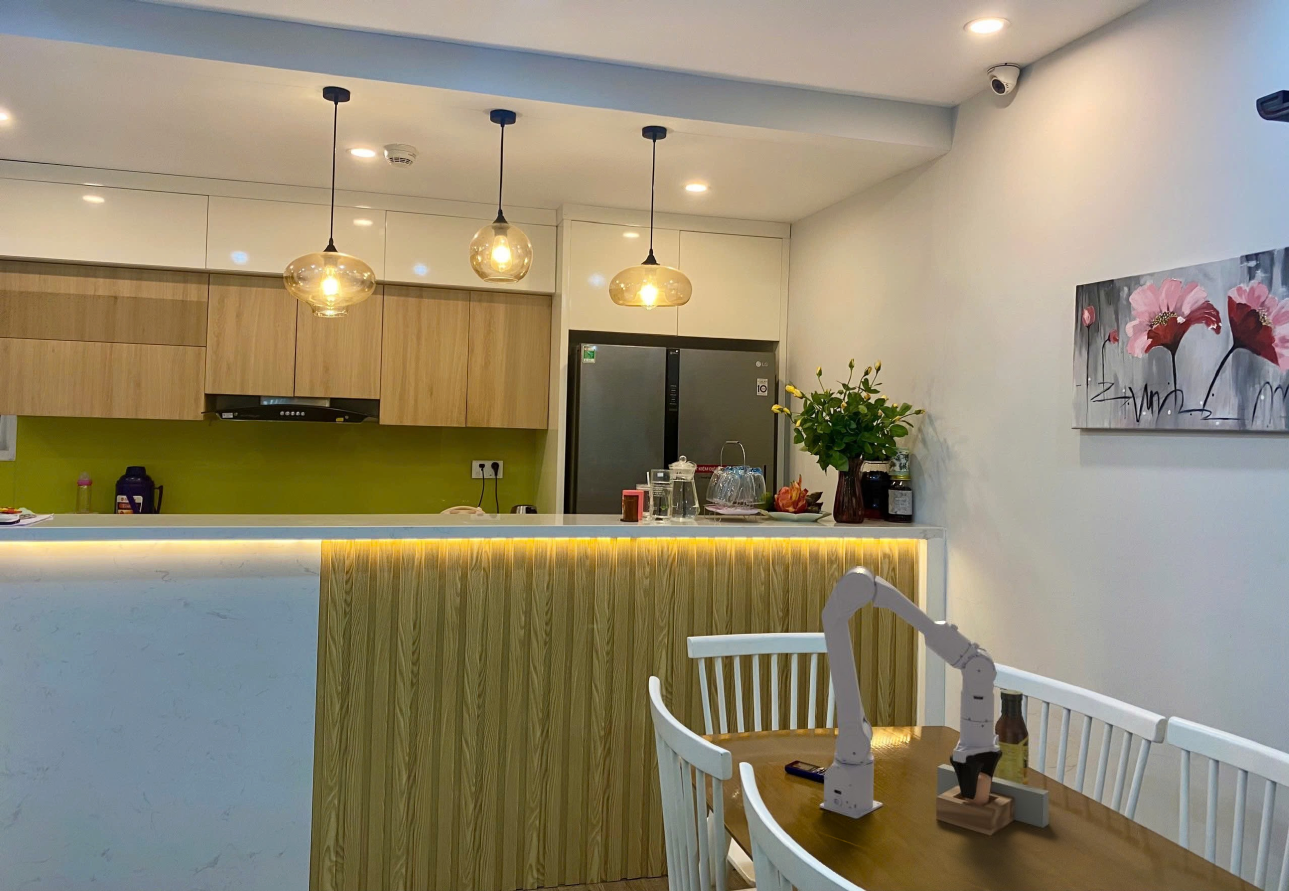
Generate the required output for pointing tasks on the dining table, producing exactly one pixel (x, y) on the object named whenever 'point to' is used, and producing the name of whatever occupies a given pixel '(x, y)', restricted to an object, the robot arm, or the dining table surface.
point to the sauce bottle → (1012, 739)
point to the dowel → (981, 790)
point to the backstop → (1027, 799)
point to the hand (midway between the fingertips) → (975, 793)
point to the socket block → (975, 811)
